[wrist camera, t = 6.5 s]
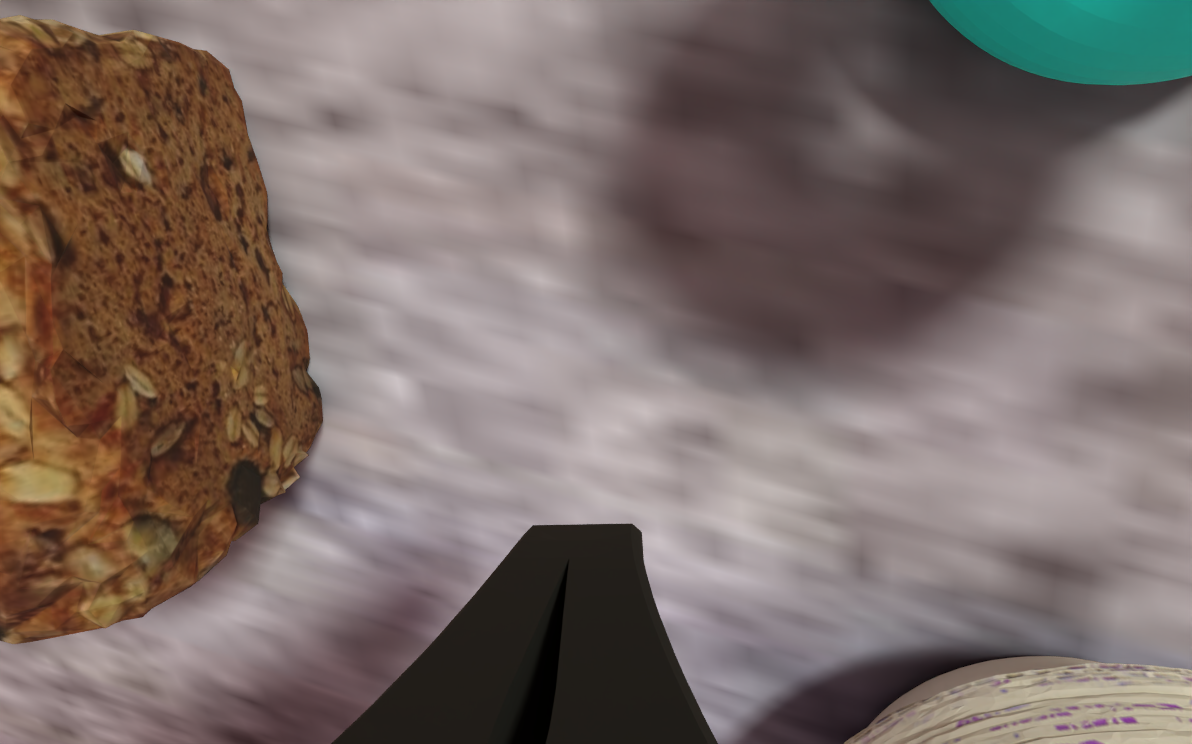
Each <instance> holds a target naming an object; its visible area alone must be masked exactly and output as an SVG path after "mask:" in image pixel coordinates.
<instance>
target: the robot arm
mask: <svg viewBox="0 0 1192 744" xmlns="http://www.w3.org/2000/svg"><path fill="white" fill-rule="evenodd" d="M331 744H718V743H717V741H716V739H715V737H714V735H713V734H712V732H711V730H710V728H709V726H708V724H707V722H706V720H705V718H704V716H703V714H702V712H701V710H700V708H699V706H698V704H697V701H696V699H695V697H694V695H693V693H692V691H691V689H690V687H689V685H688V683H687V681H686V678H685V676H684V674H683V672H682V669H681V667H680V665H679V663H678V660H677V658H676V656H675V653H674V651H673V648H672V646H671V643H670V641H669V638H668V636H667V633H666V631H665V628H664V625H663V623H662V620H661V618H660V615H659V613H658V610H657V607H656V604H655V601H654V598H653V595H652V591H651V588H650V584H649V581H648V577H647V574H646V570H645V565H644V560H643V545H642V532H641V531H640V530H639V529H638V528H636V527H635V526H634V525H633V524H587V525H533V526H532V527H531V528H530V529H529V530H528V531H527V532H526V533H525V534H524V535H523V537H522V538H521V539H520V540H519V541H518V543H517V544H516V545H515V546H514V547H513V549H512V550H511V551H510V552H509V554H508V555H507V556H506V557H505V559H504V560H503V561H502V562H501V563H500V565H499V566H498V567H497V568H496V570H495V571H494V572H493V573H492V574H491V576H490V577H489V578H488V579H487V580H486V582H485V583H484V584H483V585H482V586H481V588H480V589H479V590H478V591H477V592H476V594H475V595H474V596H473V597H472V598H471V599H470V601H469V602H468V603H467V604H466V605H465V606H464V607H463V609H462V610H461V611H460V612H459V613H458V614H457V615H456V616H455V618H454V619H453V620H452V621H451V622H450V623H449V624H448V626H447V627H446V628H445V629H444V630H443V631H442V632H441V633H440V635H439V636H438V637H437V638H436V639H435V640H434V641H433V642H432V644H431V645H430V646H429V647H428V648H427V649H426V650H425V651H424V652H423V653H422V654H421V655H420V656H419V657H418V658H417V659H416V660H415V662H414V663H413V664H412V665H411V666H410V667H409V668H408V669H407V670H406V671H405V672H404V673H403V674H402V675H401V676H400V677H399V678H398V679H397V680H396V681H395V682H394V683H393V684H392V685H391V686H390V687H389V688H388V689H387V690H386V691H385V692H384V693H383V694H382V695H381V696H380V697H379V698H378V699H377V700H376V701H375V702H374V704H373V705H372V706H371V707H369V708H368V709H367V710H366V711H365V712H364V713H363V714H362V715H361V716H360V717H359V718H358V719H357V720H356V721H355V722H354V723H353V724H352V725H351V726H350V727H349V728H348V729H346V730H345V731H344V732H343V733H342V734H341V735H340V736H339V737H338V738H337V739H336V740H335V741H334V742H333V743H331Z"/></svg>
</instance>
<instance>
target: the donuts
mask: <svg viewBox="0 0 1192 744" xmlns="http://www.w3.org/2000/svg"><path fill="white" fill-rule="evenodd" d="M929 1H930V2H931V3H932V5H933V6H934V7H935V8H936V10H937V11H938V12H939V13H940V14H941V15H942V16H943V17H944V18H945V19H946V20H947V21H948V22H949V23H950V24H951V25H952V26H953V27H954V28H955V29H956V30H958V31H959V32H960V33H961V34H962V35H963V36H965V37H966V38H967V39H969V40H970V41H971V42H973V43H974V44H975V45H977V46H978V47H979V48H981V49H982V50H984V51H986V52H987V53H989V54H990V55H992V56H994V57H996V58H998V59H1000V60H1001V61H1003V62H1005V63H1007V64H1009V65H1012V66H1014V67H1017V68H1019V69H1022V70H1024V71H1026V72H1030V73H1033V74H1036V75H1039V76H1043V77H1046V78H1051V79H1055V80H1060V81H1065V82H1072V83H1080V84H1096V85H1134V84H1148V83H1155V82H1162V81H1169V80H1175V79H1179V78H1184V77H1188V76H1192V0H929Z"/></svg>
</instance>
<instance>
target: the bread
mask: <svg viewBox="0 0 1192 744" xmlns="http://www.w3.org/2000/svg"><path fill="white" fill-rule="evenodd" d="M266 227H267V191H266V187H265V184H264V181H263V178H262V174H261V171H260V168H259V165H258V162H257V159H256V156H255V153H254V151H253V148H252V145H251V142H250V139H249V137H248V134H247V128H246V122H245V116H244V111H243V106H242V101H241V99H240V97H239V95H238V94H237V92H236V90H235V89H234V86H233V82H232V79H231V75H230V71H229V69H228V68H226V67H225V66H224V65H223V64H222V63H220V62H219V61H218V60H217V59H216V58H214V57H213V56H212V55H211V54H210V53H208V52H207V51H203V50H195V49H192V48H190V47H188V46H186V45H183V44H181V43H179V42H176V41H172V40H168V39H165V38H161V37H157V36H154V35H150V34H146V33H143V32H139V31H135V30H130V31H123V32H117V33H111V34H104V35H96V34H93V33H90V32H86V31H83V30H80V29H78V28H75V27H72V26H69V25H66V24H63V23H60V22H58V21H55V20H34V19H31V18H28V17H25V16H21V15H18V16H13V17H8V18H2V19H0V641H4V642H8V643H12V644H18V643H26V642H33V641H38V640H43V639H48V638H53V637H59V636H64V635H69V634H74V633H79V632H84V631H89V630H94V629H99V628H107V627H109V626H111V625H112V624H114V623H117V622H120V621H123V620H129V619H135V618H141V617H143V616H144V615H145V614H146V613H147V612H149V611H150V610H151V609H152V608H153V607H155V606H157V605H159V604H161V603H162V602H164V601H166V600H168V599H169V598H171V597H173V596H175V595H177V594H178V593H180V592H182V591H184V590H185V589H187V588H189V587H191V586H192V585H193V584H195V583H196V582H197V581H199V580H200V579H201V578H202V577H203V576H204V575H205V574H206V573H208V572H209V571H210V570H211V569H212V568H213V567H214V566H215V565H216V564H217V563H219V562H220V561H221V560H222V559H223V558H224V557H225V556H226V555H227V552H228V549H229V546H230V543H231V541H236V540H237V539H238V538H240V537H241V536H242V535H244V534H245V533H246V532H248V531H249V530H250V529H252V528H253V527H254V526H256V525H257V524H258V520H259V512H260V504H262V503H264V502H266V501H268V500H270V499H272V498H274V497H276V496H277V495H279V494H282V493H285V492H286V491H285V489H287V488H288V487H289V486H290V485H291V484H293V483H294V482H295V481H296V480H297V479H299V478H300V477H299V475H298V474H297V472H296V470H295V469H294V467H295V466H296V465H297V464H299V463H300V462H301V461H302V460H303V459H305V458H306V457H307V456H308V454H307V453H306V452H307V451H308V450H309V448H310V447H311V444H312V442H313V440H314V437H315V435H316V433H317V431H318V429H319V427H320V426H321V424H322V422H323V417H322V398H321V394H320V390H319V387H318V386H317V385H316V383H315V382H314V381H313V379H312V378H311V377H310V376H309V374H308V373H307V372H306V369H307V367H308V364H309V360H310V356H309V343H308V333H307V329H306V326H305V324H304V321H303V318H302V315H301V313H300V311H299V308H298V306H297V304H296V303H295V301H294V300H293V298H292V297H291V295H290V294H289V292H288V291H287V290H286V288H285V287H284V285H283V284H282V271H281V269H280V267H279V265H278V263H277V261H276V258H275V255H274V252H273V250H272V246H271V243H270V239H269V236H268V233H267V229H266Z"/></svg>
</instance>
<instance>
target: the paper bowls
mask: <svg viewBox="0 0 1192 744" xmlns="http://www.w3.org/2000/svg"><path fill="white" fill-rule="evenodd" d="M844 744H1192V670H1187V669H1180V668H1168V667H1161V666H1151V665H1136V664H1121V663H1114V664H1106V663H1100V662H1096V661H1090V660H1084V659H1077V658H1069V657H1058V656H1026V657H1013V658H1005V659H997V660H990V661H986V662H981V663H977V664H973V665H969V666H965V667H961V668H958V669H956V670H953V671H950V672H947V673H945V674H942V675H939V676H937V677H935V678H932V679H930V680H928V681H926V682H924V683H922V684H921V685H919V686H917V687H915V688H914V689H912V690H910V691H909V692H907V693H906V694H904V695H902V696H901V697H899V698H898V699H897V700H896V701H894V702H893V703H892V704H890V705H889V706H888V707H887V708H886V709H884V710H883V711H882V712H881V713H880V714H879V715H878V716H877V717H876V718H875V719H874V720H873V721H872V722H871V723H870V725H869V726H868V727H867V728H866V729H863V730H862V731H861V732H859V733H858V734H856V735H855V736H853V737H851V738H850V739H848V740H847V741H846V742H845V743H844Z"/></svg>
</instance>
